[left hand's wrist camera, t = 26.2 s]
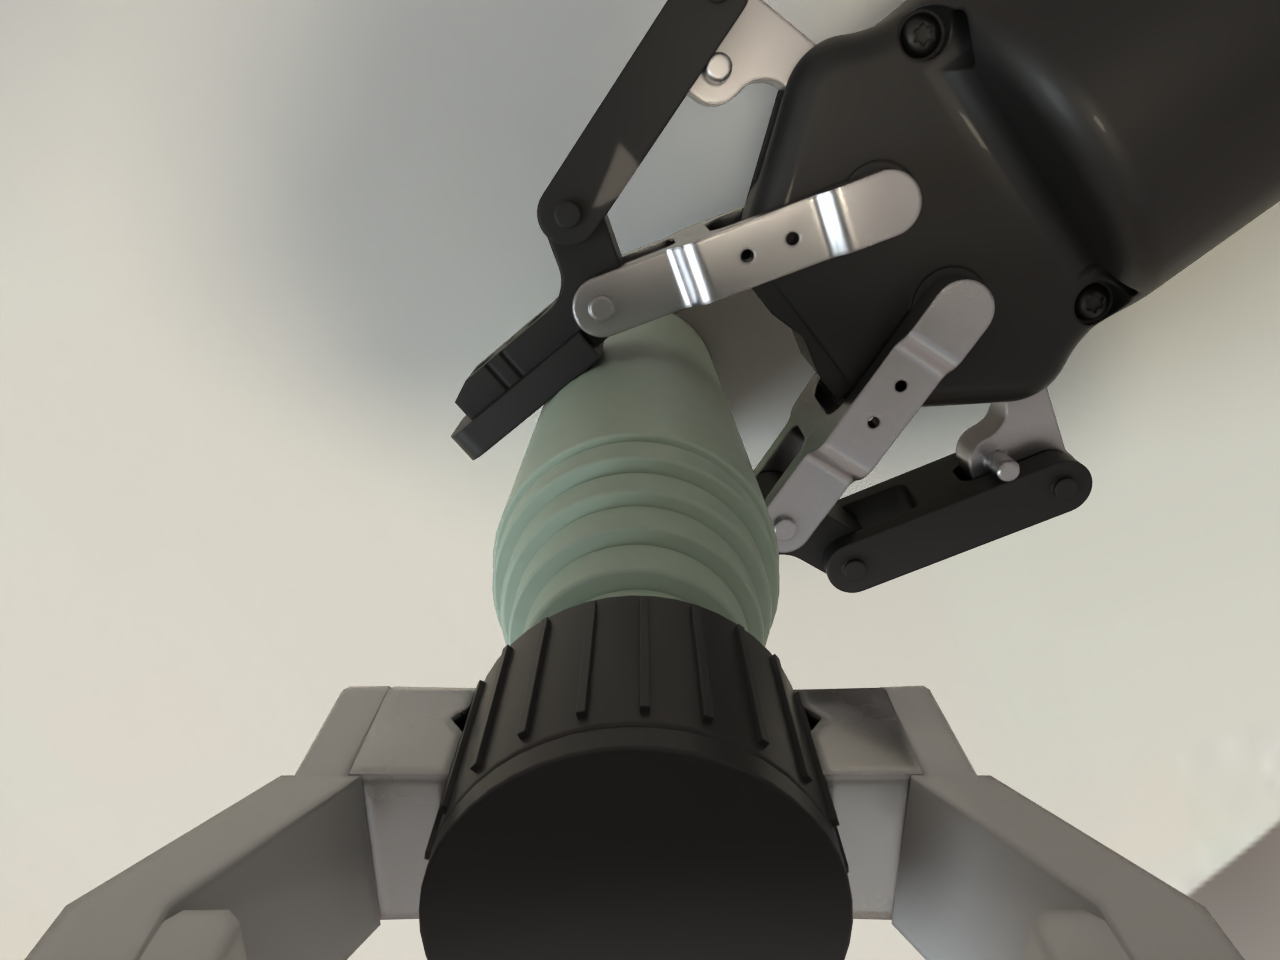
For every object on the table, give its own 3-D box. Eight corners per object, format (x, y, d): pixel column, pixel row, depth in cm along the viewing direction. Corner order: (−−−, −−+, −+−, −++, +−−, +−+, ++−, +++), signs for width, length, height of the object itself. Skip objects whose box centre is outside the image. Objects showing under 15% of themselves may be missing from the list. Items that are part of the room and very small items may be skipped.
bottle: (593, 478, 27) (513, 1087, 9) (533, 339, 26) (299, 747, 8) (735, 424, 27) (937, 964, 9) (681, 279, 25) (792, 573, 7)
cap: (644, 923, 11) (645, 1147, 8) (399, 745, 10) (320, 935, 8) (875, 734, 10) (952, 923, 8) (627, 519, 9) (622, 652, 7)
